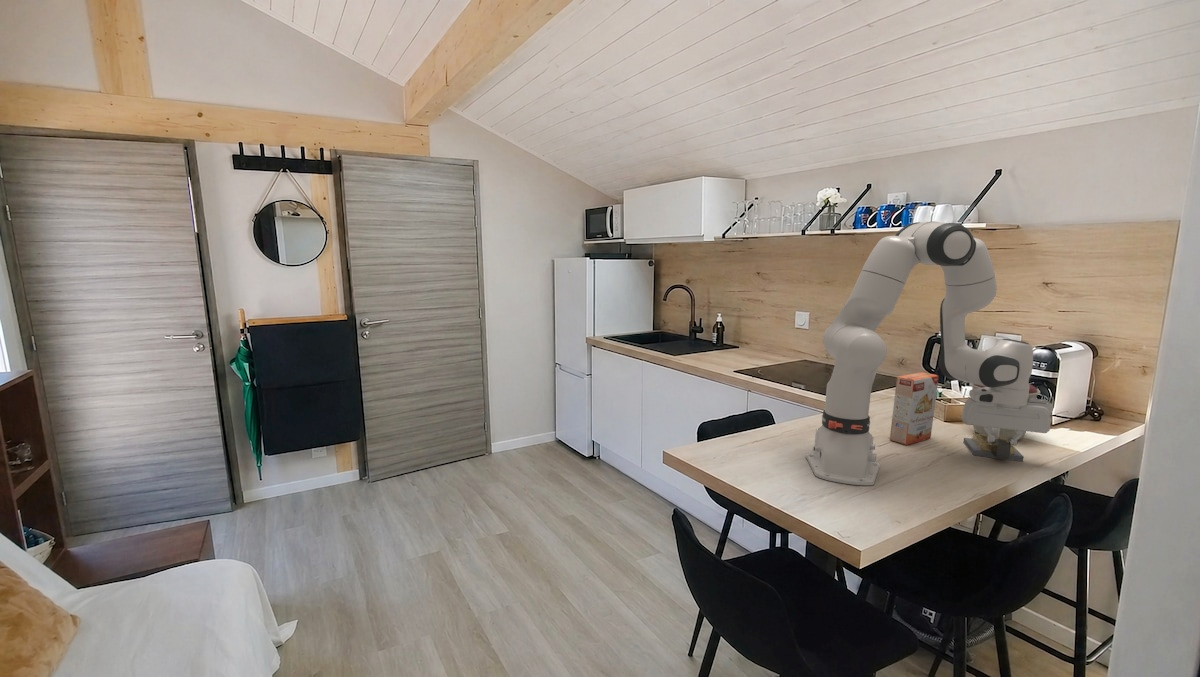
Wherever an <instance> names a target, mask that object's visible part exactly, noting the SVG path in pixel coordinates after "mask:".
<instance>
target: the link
mask: <svg viewBox="0 0 1200 677" xmlns="http://www.w3.org/2000/svg"><path fill="white" fill-rule="evenodd" d="M987 438H988V435H984V434H979V433H972V438H971V439H972V440H973V441H974V442H975V444H976V445H977V446H978V447H979V449H980V450H982V451H990V452H992V453H993V454H994V456H995V457H996V458H995V459H999V458H1003V459H1002V460H1006V459H1009V456H1010V454H1014V451H1015V448H1016V447H1015V445H1010V444H1009V441H1008V440H1007V439H1006V438H1005V437H1001V436H999V439H995V443H992V444H991V443H988V441H987Z"/></svg>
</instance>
